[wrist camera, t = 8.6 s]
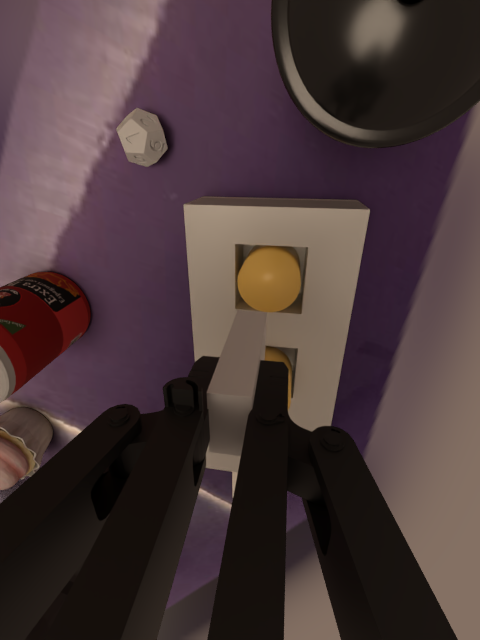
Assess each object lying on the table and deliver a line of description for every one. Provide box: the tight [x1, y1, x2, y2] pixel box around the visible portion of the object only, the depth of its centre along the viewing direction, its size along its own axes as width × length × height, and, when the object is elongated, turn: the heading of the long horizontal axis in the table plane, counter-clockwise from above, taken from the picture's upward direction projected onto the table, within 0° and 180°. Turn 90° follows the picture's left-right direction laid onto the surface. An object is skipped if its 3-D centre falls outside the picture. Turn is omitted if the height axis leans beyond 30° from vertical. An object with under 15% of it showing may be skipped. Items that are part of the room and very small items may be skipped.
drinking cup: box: [271, 0, 480, 148], centre depth 12 cm, size 8×8×20 cm
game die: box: [116, 108, 168, 167], centre depth 23 cm, size 4×4×3 cm
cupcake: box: [0, 407, 53, 490], centre depth 38 cm, size 9×9×10 cm
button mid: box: [265, 346, 292, 410], centre depth 25 cm, size 4×4×4 cm
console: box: [184, 196, 370, 472], centre depth 29 cm, size 26×12×5 cm, turn 179°
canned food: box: [0, 272, 91, 403], centre depth 28 cm, size 8×8×11 cm
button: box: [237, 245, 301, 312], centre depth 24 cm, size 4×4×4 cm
